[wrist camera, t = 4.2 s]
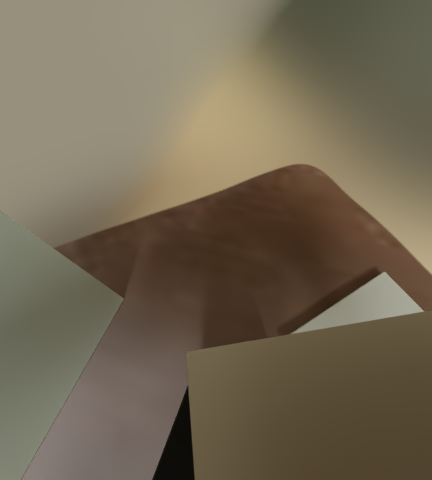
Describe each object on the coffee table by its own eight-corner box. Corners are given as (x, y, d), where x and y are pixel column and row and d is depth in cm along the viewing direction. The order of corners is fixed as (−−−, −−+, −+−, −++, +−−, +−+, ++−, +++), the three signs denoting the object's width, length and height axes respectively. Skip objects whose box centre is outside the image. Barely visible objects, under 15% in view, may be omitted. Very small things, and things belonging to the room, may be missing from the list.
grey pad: (552, 453, 12) (568, 458, 11) (449, 608, 9) (464, 624, 8) (379, 274, 17) (384, 271, 16) (280, 339, 14) (283, 339, 14)
